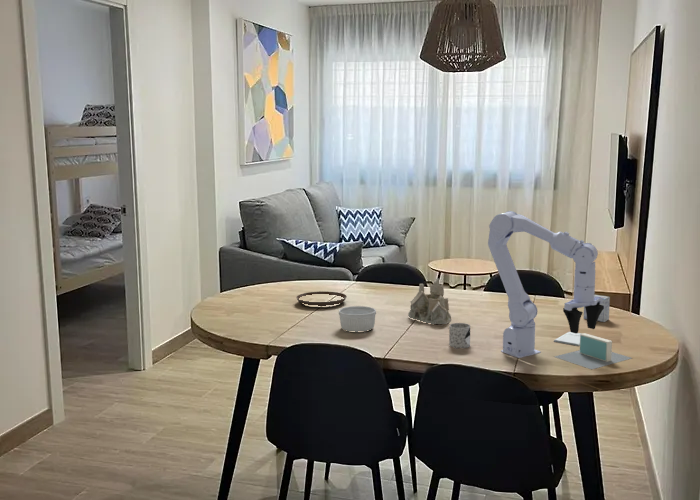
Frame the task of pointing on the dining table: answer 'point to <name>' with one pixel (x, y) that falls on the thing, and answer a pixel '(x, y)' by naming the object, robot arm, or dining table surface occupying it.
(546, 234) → the robot arm
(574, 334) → the external hard drive
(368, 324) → the ramekin
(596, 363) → the mat
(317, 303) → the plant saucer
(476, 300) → the dining table surface
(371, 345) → the dining table surface
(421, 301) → the ceramic cottage
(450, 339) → the mug
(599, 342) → the slab
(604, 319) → the medicine box
